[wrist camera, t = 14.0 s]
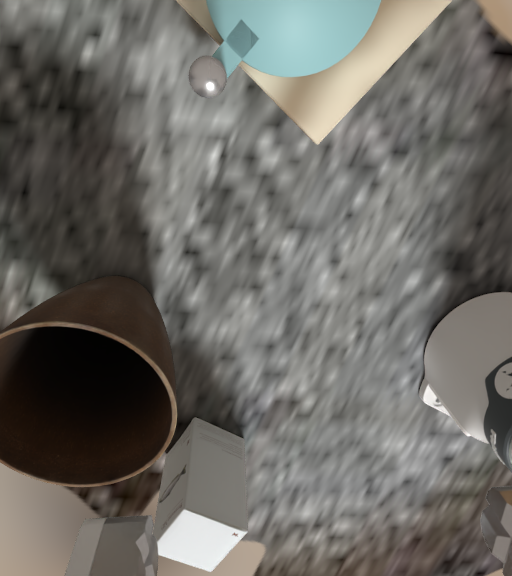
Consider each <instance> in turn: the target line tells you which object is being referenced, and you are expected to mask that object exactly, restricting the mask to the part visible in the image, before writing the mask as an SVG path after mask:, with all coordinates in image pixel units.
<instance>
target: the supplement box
mask: <svg viewBox="0 0 512 576" xmlns="http://www.w3.org/2000/svg"><path fill="white" fill-rule="evenodd" d="M247 532H248V518H247V493H246V468H245V444H244V439H243V438H241V437H239V436H237V435H234V434H232V433H230V432H228V431H226V430H223V429H221V428H219V427H217V426H215V425H212V424H210V423H208V422H206V421H203V420H201V419H199V418H196V417H194V418H193V420H192V421H191V423H190V424H189V426H188V427H187V429H186V430H185V431H184V433H183V434H182V436H181V437H180V438H179V440H178V441H177V442H176V444H175V445H174V446H173V447H172V449H171V450H170V451H169V452H168V454H167V455H166V459H165V465H164V470H163V476H162V482H161V487H160V493H159V499H158V506H157V511H156V517H155V524H154V530H153V535H154V536H155V537H156V539H157V544H158V555H161V556H164V557H167V558H170V559H173V560H176V561H179V562H182V563H185V564H188V565H191V566H194V567H197V568H201V569H204V570H206V571H209V572H211V571H212V570H214V568H215V567H216V566H217V565H218V564H219V563H220V562H221V561H222V560H223V558H224V557H225V556H226V555H227V554H228V553H229V552H230V551H231V550H232V548H233V547H234V546H235V545H236V544H237V543H238V542H239V541H240V540H241V539H242V538H243V536H244V535H245V534H246V533H247Z"/></svg>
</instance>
